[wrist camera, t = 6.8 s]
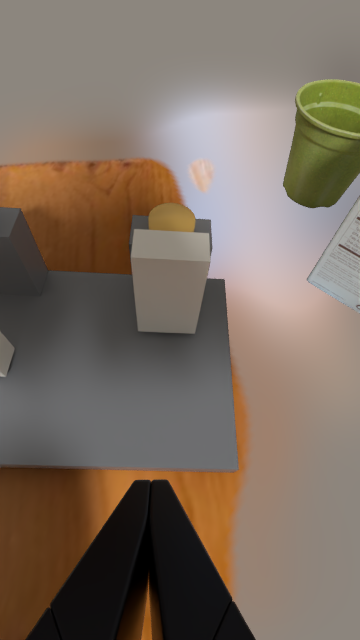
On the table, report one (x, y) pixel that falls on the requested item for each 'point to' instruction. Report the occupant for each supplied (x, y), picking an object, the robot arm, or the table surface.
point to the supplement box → (341, 262)
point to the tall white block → (169, 279)
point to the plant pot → (324, 143)
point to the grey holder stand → (109, 366)
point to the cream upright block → (5, 355)
